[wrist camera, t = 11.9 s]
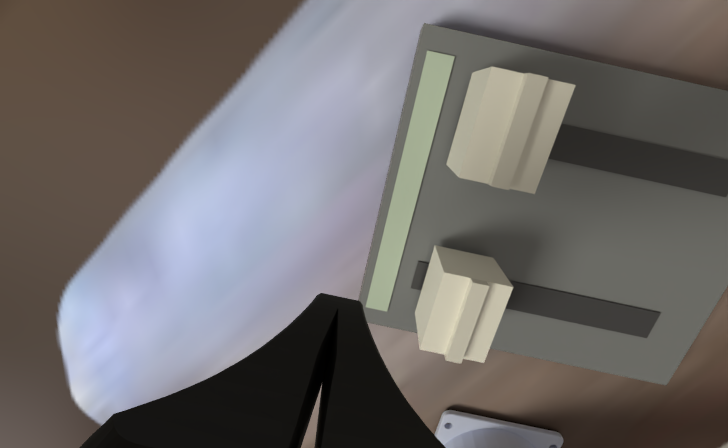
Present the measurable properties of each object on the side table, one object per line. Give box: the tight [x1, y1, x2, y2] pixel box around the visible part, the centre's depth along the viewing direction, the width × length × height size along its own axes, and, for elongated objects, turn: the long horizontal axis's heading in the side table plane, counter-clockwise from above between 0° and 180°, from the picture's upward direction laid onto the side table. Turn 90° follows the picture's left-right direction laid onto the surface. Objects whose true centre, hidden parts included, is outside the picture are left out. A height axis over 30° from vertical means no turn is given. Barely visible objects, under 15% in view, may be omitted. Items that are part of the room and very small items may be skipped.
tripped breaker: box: [446, 67, 576, 194], centre depth 14 cm, size 4×3×3 cm
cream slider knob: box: [415, 245, 513, 364], centre depth 17 cm, size 4×3×3 cm
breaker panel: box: [358, 23, 728, 385], centre depth 19 cm, size 15×18×2 cm
